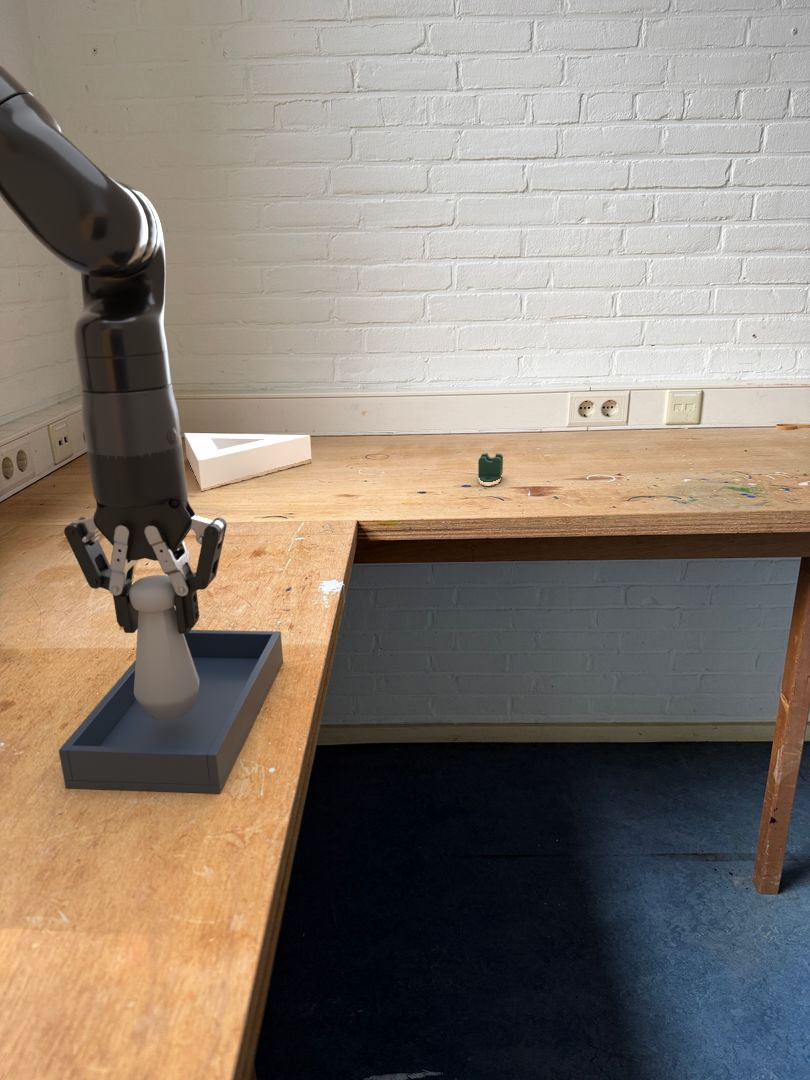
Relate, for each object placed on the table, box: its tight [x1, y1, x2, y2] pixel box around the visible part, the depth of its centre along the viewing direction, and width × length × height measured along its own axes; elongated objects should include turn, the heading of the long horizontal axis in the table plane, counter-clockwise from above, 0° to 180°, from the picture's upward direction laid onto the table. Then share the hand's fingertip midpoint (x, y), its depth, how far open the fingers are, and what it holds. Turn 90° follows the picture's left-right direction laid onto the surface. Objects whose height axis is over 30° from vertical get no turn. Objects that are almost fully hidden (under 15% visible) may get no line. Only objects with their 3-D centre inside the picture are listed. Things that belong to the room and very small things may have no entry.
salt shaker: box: [129, 574, 200, 721], centre depth 72 cm, size 6×6×13 cm
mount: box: [477, 452, 504, 482], centre depth 162 cm, size 11×4×5 cm, turn 167°
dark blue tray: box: [58, 629, 284, 794], centre depth 78 cm, size 14×24×4 cm, turn 175°
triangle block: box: [183, 432, 312, 490], centre depth 169 cm, size 30×26×6 cm
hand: (159, 628), depth 71 cm, fingers closed on salt shaker, 4 cm apart
